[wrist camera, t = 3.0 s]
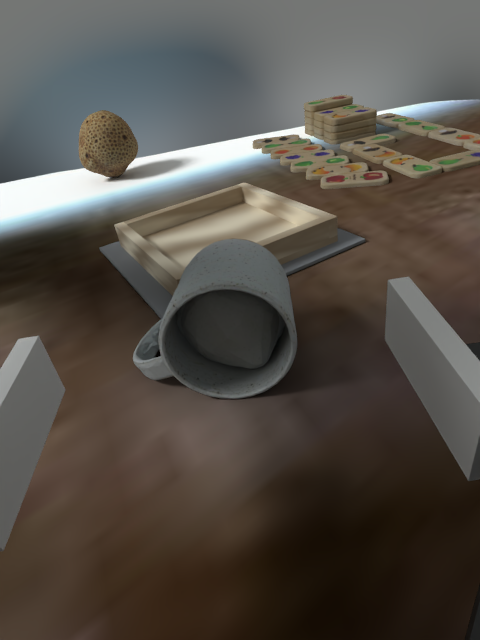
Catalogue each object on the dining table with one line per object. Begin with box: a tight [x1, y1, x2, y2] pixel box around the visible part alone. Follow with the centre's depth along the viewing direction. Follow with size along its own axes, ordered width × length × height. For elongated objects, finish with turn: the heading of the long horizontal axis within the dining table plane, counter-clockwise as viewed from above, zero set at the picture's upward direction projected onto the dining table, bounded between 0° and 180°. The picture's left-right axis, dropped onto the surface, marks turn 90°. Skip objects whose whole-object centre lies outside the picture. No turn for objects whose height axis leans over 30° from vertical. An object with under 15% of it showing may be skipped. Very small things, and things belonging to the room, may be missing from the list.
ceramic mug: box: [133, 238, 297, 399], centre depth 27 cm, size 11×8×8 cm
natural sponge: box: [79, 110, 138, 178], centre depth 69 cm, size 9×9×10 cm
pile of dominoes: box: [253, 95, 480, 189], centre depth 65 cm, size 35×27×6 cm
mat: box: [99, 228, 365, 319], centre depth 44 cm, size 19×20×1 cm
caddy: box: [114, 183, 338, 296], centre depth 43 cm, size 16×16×2 cm
